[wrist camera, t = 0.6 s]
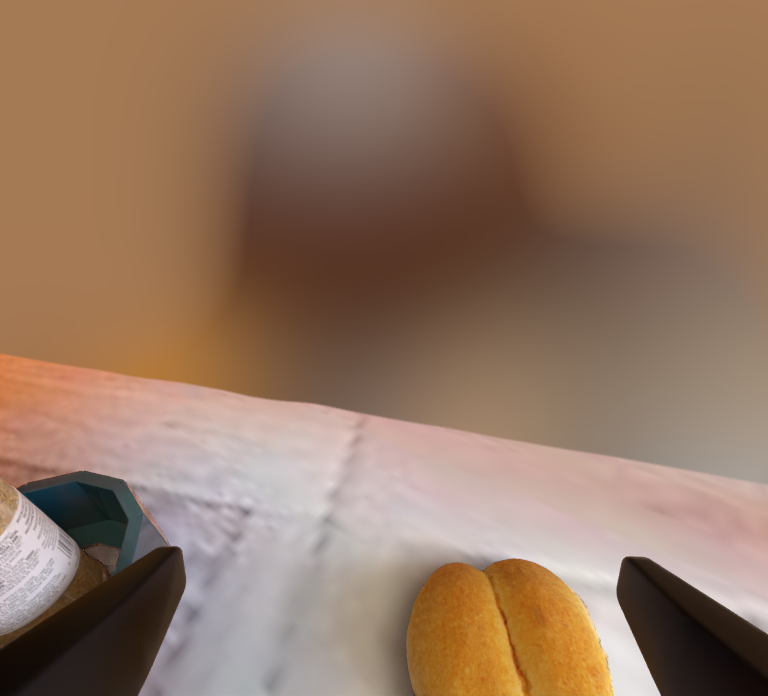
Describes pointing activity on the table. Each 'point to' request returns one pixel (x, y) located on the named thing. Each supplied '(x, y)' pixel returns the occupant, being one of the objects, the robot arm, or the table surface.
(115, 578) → the robot arm
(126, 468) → the table surface
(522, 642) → the bread roll
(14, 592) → the spice jar
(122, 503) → the bowl
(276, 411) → the table surface
